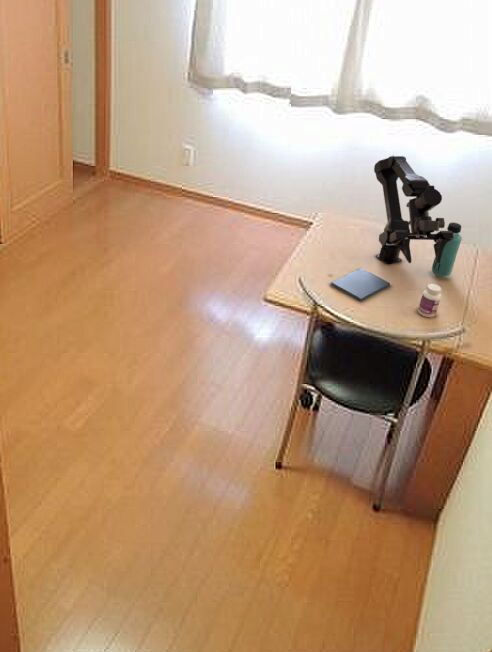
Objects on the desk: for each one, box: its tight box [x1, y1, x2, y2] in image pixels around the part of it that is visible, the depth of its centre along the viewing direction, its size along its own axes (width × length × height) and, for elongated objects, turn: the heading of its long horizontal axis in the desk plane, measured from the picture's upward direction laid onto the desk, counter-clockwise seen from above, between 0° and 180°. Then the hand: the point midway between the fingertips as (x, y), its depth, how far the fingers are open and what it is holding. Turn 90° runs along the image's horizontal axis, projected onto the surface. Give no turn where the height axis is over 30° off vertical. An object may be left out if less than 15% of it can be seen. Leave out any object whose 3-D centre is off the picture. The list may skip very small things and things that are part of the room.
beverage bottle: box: [431, 222, 463, 277], centre depth 220 cm, size 6×7×20 cm
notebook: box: [330, 267, 391, 302], centre depth 218 cm, size 16×12×1 cm
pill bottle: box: [417, 283, 442, 318], centre depth 203 cm, size 5×5×10 cm
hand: (424, 262), depth 207 cm, fingers open, 9 cm apart
